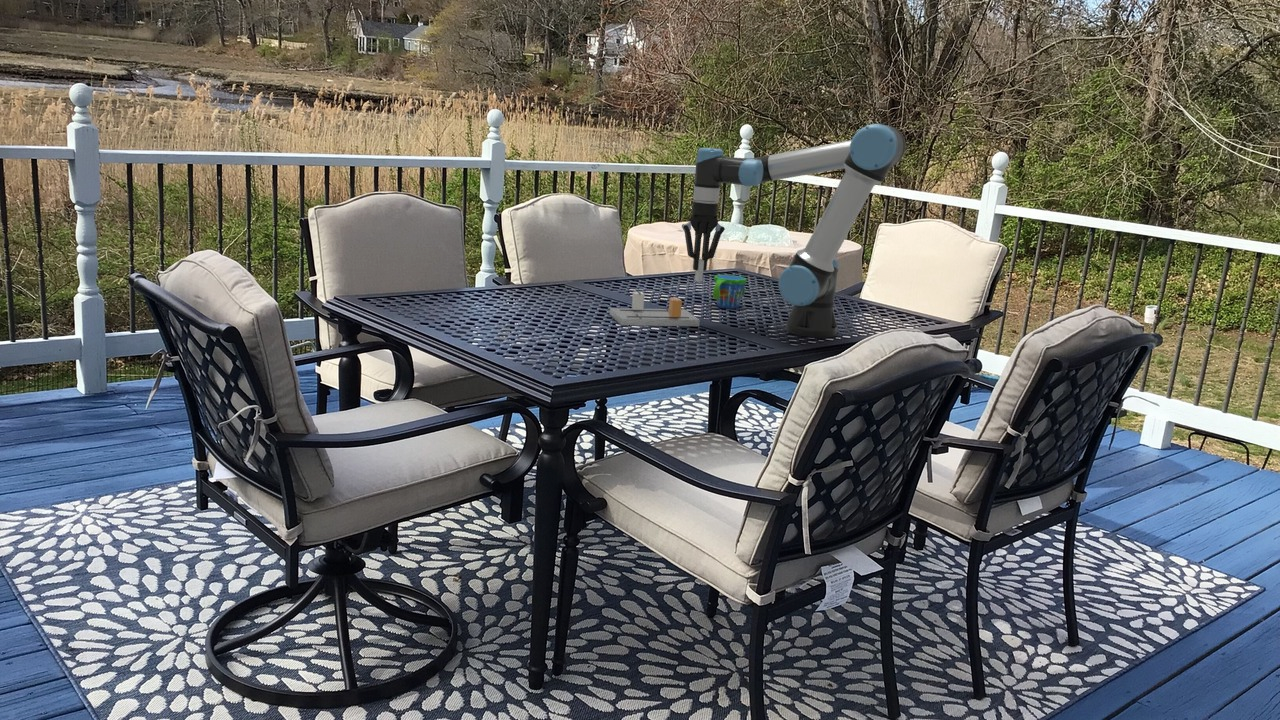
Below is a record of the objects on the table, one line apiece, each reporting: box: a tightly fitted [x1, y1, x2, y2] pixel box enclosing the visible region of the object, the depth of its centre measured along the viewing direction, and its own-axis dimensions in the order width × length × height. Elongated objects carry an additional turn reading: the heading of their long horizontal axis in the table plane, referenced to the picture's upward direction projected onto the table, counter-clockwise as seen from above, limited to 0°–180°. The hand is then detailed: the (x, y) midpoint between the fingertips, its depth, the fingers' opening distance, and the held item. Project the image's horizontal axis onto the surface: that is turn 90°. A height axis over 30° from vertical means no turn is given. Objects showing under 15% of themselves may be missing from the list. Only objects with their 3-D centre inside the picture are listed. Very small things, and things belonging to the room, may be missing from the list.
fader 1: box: [631, 290, 645, 310], centre depth 300 cm, size 4×3×5 cm
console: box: [609, 307, 701, 327], centre depth 297 cm, size 17×24×2 cm
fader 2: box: [668, 296, 683, 317], centre depth 293 cm, size 4×3×5 cm
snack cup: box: [712, 274, 748, 310], centre depth 326 cm, size 16×10×10 cm
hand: (698, 281), depth 293 cm, fingers closed
